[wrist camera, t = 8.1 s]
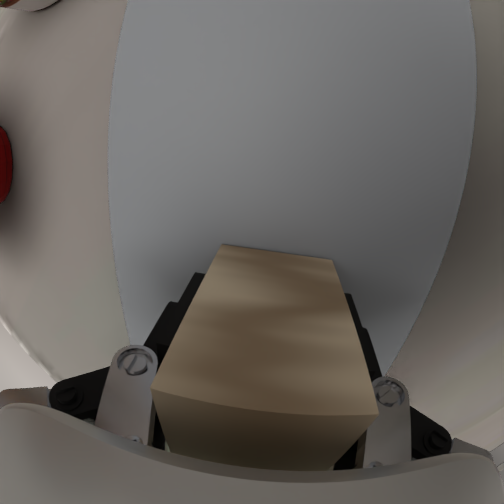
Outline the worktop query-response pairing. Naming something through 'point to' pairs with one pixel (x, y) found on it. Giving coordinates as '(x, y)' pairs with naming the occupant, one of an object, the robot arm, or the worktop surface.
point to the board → (290, 145)
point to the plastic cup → (5, 165)
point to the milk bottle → (26, 4)
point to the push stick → (265, 366)
